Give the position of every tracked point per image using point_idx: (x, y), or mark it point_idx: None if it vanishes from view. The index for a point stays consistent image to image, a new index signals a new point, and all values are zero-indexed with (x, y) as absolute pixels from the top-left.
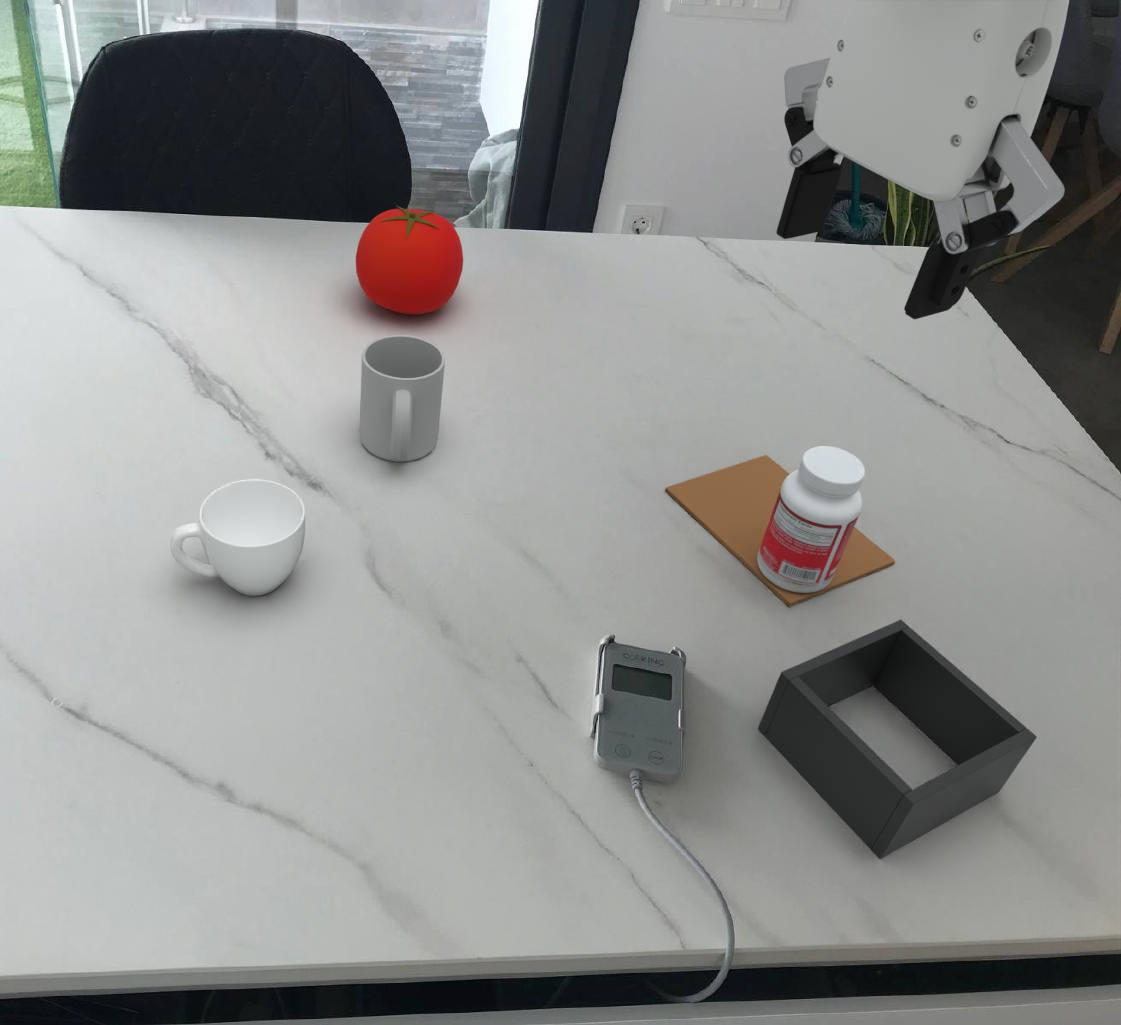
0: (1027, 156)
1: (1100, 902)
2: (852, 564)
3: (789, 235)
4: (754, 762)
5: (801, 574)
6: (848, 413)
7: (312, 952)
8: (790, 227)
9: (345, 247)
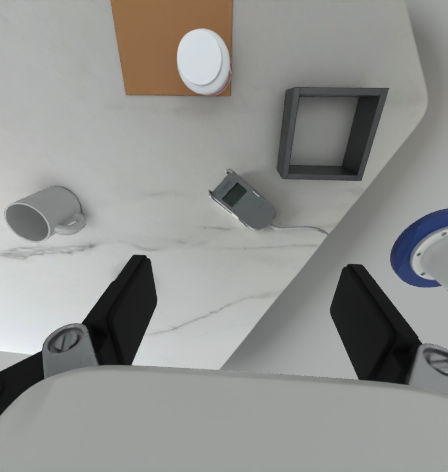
0: None
1: (424, 99)
2: (222, 24)
3: (156, 301)
4: (287, 182)
5: (225, 87)
6: None
7: (263, 313)
8: (153, 311)
9: None
